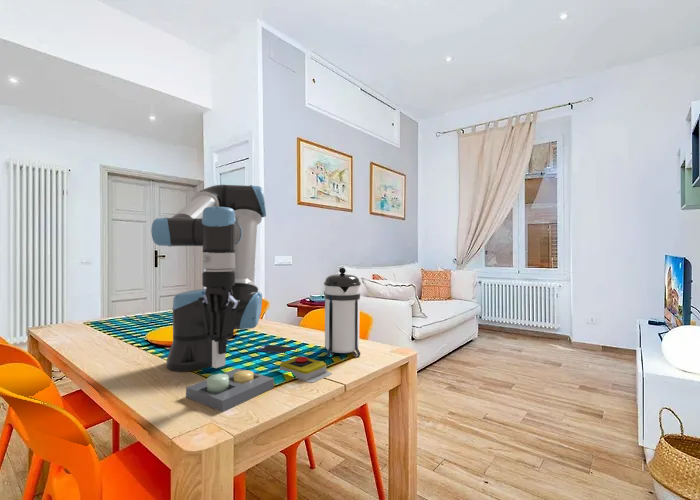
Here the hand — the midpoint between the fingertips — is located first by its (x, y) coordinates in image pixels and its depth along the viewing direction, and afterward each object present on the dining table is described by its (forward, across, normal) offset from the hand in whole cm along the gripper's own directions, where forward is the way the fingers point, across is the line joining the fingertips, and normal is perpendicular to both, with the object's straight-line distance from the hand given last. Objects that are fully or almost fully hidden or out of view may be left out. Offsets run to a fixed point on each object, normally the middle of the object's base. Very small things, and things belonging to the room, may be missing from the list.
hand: (218, 366), depth 87 cm
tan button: (+7, 0, +8) cm, 11 cm away
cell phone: (+8, -16, +37) cm, 41 cm away
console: (+8, 0, +4) cm, 9 cm away
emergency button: (+9, +6, +25) cm, 27 cm away
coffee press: (+8, +4, +48) cm, 49 cm away
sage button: (+6, 0, 0) cm, 6 cm away
